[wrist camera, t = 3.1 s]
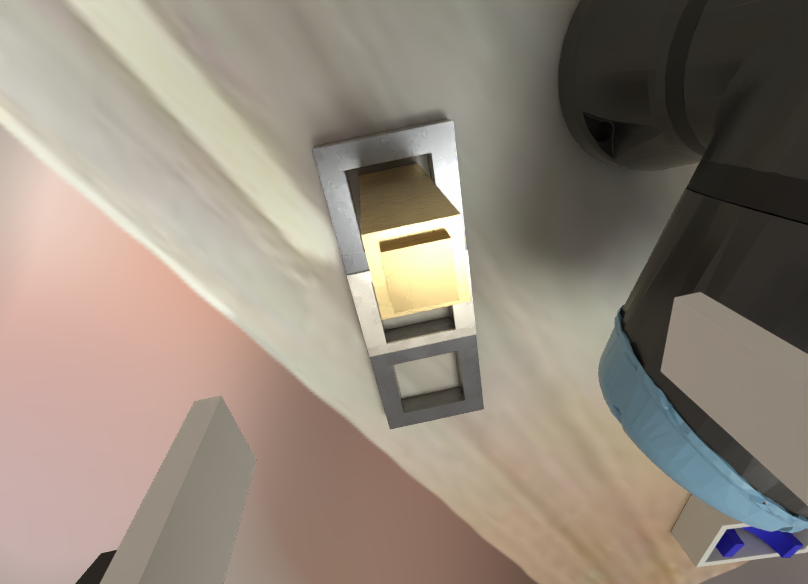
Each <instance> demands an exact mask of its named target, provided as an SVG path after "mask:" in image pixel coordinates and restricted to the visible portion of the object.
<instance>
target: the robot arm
mask: <svg viewBox="0 0 808 584" xmlns="http://www.w3.org/2000/svg"><path fill="white" fill-rule="evenodd" d="M559 95H560V102H561V107H562V111H563V115H564V118H565V121H566V123H567V126H568V128H569V130H570V132H571V133H572V135H573V137H574V138H575V139H576V141H577V142H578V143H579V144H580V146H581V147H582V148H583V149H584V150H585V151H587V152H588V153H589V154H590V155H592V156H594V157H595V158H597V159H599V160H601V161H603V162H606V163H609V164H612V165H616V166H619V167H623V168H627V169H632V170H648V171H650V170H660V169H666V168H672V167H677V166H682V165H687V164H693V163H698V162H700V163H699V165H698V167H697V169H696V171H695V173H694V175H693V176H692V178H691V180H690V182H689V184H688V186H687V188H685V190H684V192H683V194H682V196H681V198H680V200H679V202H678V204H677V205H676V207H675V209H674V211H673V213H672V215H671V217H670V219H669V221H668V223H667V225H666V227H665V229H664V230H663V232H662V234H661V236H660V238H659V240H658V242H657V244H656V246H655V248H654V250H653V252H652V253H651V255H650V257H649V259H648V261H647V263H646V265H645V267H644V269H643V271H642V273H641V275H640V276H639V278H638V280H637V282H636V284H635V286H634V288H633V290H632V292H631V294H630V296H629V298H628V299H627V301H626V303H625V304H624V305H623V306H622V307H621V308H620V309H619V311H618V313H617V316H616V317H615V327H614V329H613V331H612V333H611V336H610V338H609V340H608V342H607V345H606V347H605V349H604V351H603V353H602V356H601V359H600V362H599V371H598V376H599V383H600V387H601V390H602V393H603V396H604V399H605V401H606V403H607V405H608V406H609V408H610V411H611V412H612V414H613V415H614V416H615V417H616V418H617V419H618V421H619V422H620V423H621V424H622V427H623V430H624V431H625V433H626V434H627V435H628V436H629V438H630V439H631V440H632V441H633V442H634V444H635V445H636V446H637V447H638V448H639V449H640V450H641V451H642V452H643V453H644V454H645V455H646V456H647V457H648V458H649V459H650V460H651V461H652V462H653V463H654V464H655V465H656V466H657V467H658V468H660V469H661V470H662V471H663V472H664V473H665V474H666V475H668V476H669V477H670V478H671V479H673V480H674V481H675V482H676V483H678V484H679V485H680V486H682V487H683V488H684V489H686V490H687V491H688V492H690V493H691V494H693V495H694V496H695V497H697V498H698V499H700V500H701V501H703V502H704V503H706V504H708V505H709V506H711V507H713V508H714V509H716V510H718V511H720V512H721V513H723V514H725V515H727V516H729V517H731V518H733V519H735V520H737V521H740V522H742V523H744V524H747V525H750V526H752V527H755V528H758V529H762V530H766V531H771V532H772V531H777V530H778V531H781V532H789V533H794V532H799V531H801V530H804V529H808V0H581V1H580V3H579V5H578V7H577V9H576V11H575V14H574V16H573V18H572V20H571V23H570V26H569V28H568V31H567V34H566V38H565V41H564V45H563V49H562V54H561V60H560V68H559ZM256 461H257V459H256V457H255V456H254V454H253V452H252V450H251V448H250V447H249V445H248V443H247V441H246V439H245V438H244V436H243V434H242V432H241V430H240V428H239V427H238V425H237V423H236V421H235V419H234V417H233V416H232V414H231V412H230V410H229V409H228V407H227V405H226V403H225V401H224V399H223V398H222V396H217V397H213V398H208V399H203V400H199V401H194V403H193V405H192V407H191V409H190V411H189V413H188V415H187V417H186V419H185V421H184V423H183V425H182V426H181V428H180V430H179V432H178V434H177V436H176V438H175V440H174V442H173V444H172V446H171V447H170V450H169V451H168V453H167V455H166V457H165V459H164V461H163V463H162V465H161V467H160V469H159V470H158V472H157V475H156V476H155V478H154V481H153V482H152V484H151V486H150V488H149V490H148V492H147V494H146V496H145V497H144V499H143V501H142V503H141V505H140V507H139V509H138V511H137V513H136V515H135V517H134V519H133V521H132V523H131V524H130V526H129V529H128V530H127V532H126V534H125V536H124V538H123V540H122V542H121V544H120V546H119V548H118V549H117V550H114V551H110V552H105V553H102V554H100V555H99V557H98V558H97V559H96V560H95V561H94V563H93V564H92V565H91V566H90V567H89V568H88V569H87V571H86V572H85V573H84V574H83V575H82V576H81V578H80V579H79V580H78V581H77V582H76V584H224V581H225V577H226V573H227V569H228V566H229V562H230V558H231V555H232V550H233V547H234V543H235V540H236V536H237V532H238V528H239V525H240V521H241V517H242V513H243V509H244V506H245V502H246V498H247V495H248V491H249V487H250V483H251V480H252V476H253V472H254V468H255V465H256Z"/></svg>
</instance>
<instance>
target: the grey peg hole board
mask: <svg viewBox="0 0 808 584" xmlns="http://www.w3.org/2000/svg"><path fill="white" fill-rule="evenodd" d="M312 151H313V155H314V158H315V162H316V166H317V169H318V173H319V176H320V180H321V184H322V187H323V191H324V194H325V198H326V201H327V205H328V209H329V212H330V216H331V219H332V223H333V227H334V230H335V234H336V237H337V241H338V244H339V248H340V252H341V255H342V259H343V262H344V266H345V270H346V273H347V278H348V282H349V285H350V289H351V292H352V296H353V299H354V303H355V307H356V310H357V314H358V317H359V321H360V325H361V328H362V332H363V335H364V339H365V342H366V346H367V350H368V353H369V357H370V359H371V363H372V366H373V370H374V374H375V377H376V381H377V384H378V388H379V392H380V395H381V399H382V402H383V406H384V409H385V413H386V417H387V420H388V424H389V427H390V429H394V428H399V427H403V426H408V425H413V424H417V423H422V422H427V421H431V420H436V419H440V418H445V417H450V416H454V415H459V414H464V413H468V412H473V411H477V410H482V409H484V406H483V397H482V387H481V378H480V369H479V359H478V350H477V340H476V326H475V317H474V307H473V298H472V288H471V279H470V269H469V260H468V250H467V246H466V236H465V227H464V217H463V208H462V199H461V189H460V180H459V170H458V161H457V151H456V142H455V132H454V123H453V120H450V119H444V120H439V121H434V122H429V123H424V124H419V125H414V126H409V127H404V128H400V129H395V130H390V131H385V132H380V133H375V134H370V135H365V136H361V137H356V138H351V139H346V140H341V141H336V142H331V143H326V144H322V145H317V146H314V148H313V149H312ZM427 153H428V159H429V166H430V174H431V180H432V181H433V182H434V183H435V184H436V186H437V187H438V188H439V189H440V190H441V191H442V193H443V194H444V195H445V196H446V197H447V198H448V200H449V201H450V202H451V203H452V204H453V205H454V207H455V208H456V209H457V210H458V211H459V212H460V214H461V218H462V227H463V236H464V245H465V255H466V264H467V273H468V282H469V291H470V301H469V302H464V303H459V304H455V305H450V306H449V308H450V316H451V317H447V318H442V319H438V320H433V321H428V322H424V323H419V324H414V325H409V326H405V327H400V328H395V329H391V330H386V331H385V328H384V324H383V320H382V318H381V314H380V310H379V306H378V302H377V298H376V294H375V290H374V285H373V281H372V277H371V273H370V269H369V265H368V261H367V257H366V253H365V249H364V245H363V241H362V236H361V230H360V226H359V222H358V218H357V214H356V210H355V206H354V201H353V197H352V193H351V189H350V185H349V181H348V177H347V173H346V170H349V169H354V168H359V167H364V166H369V165H374V164H379V163H383V162H388V161H393V160H398V159H403V158H408V157H412V156H417V155H422V154H427ZM455 351H456V358H457V365H458V372H459V379H460V386H461V387H458V388H453V389H448V390H444V391H439V392H434V393H430V394H425V395H420V396H416V397H411V398H406V399H402V398H401V394H400V390H399V386H398V382H397V377H396V373H395V369H394V364H399V363H404V362H408V361H413V360H418V359H422V358H427V357H432V356H436V355H441V354H446V353H450V352H455Z"/></svg>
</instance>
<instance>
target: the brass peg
mask: <svg viewBox="0 0 808 584" xmlns="http://www.w3.org/2000/svg"><path fill="white" fill-rule="evenodd" d="M359 185H360V215H361V236H362V241H363V245H364V249H365V253H366V257H367V261H368V265H369V269H370V273H371V277H372V281H373V285H374V290H375V294H376V298H377V302H378V306H379V310H380V314H381V318H382V320H384V319H389V318H393V317H398V316H403V315H408V314H412V313H417V312H422V311H426V310H431V309H436V308H441V307H445V306H450V305H455V304H459V303H464V302H469V301H470V291H469V282H468V273H467V264H466V255H465V245H464V236H463V227H462V218H461V214H460V212H459V211H458V210H457V209H456V208H455V207H454V205H453V204H452V203H451V202H450V201H449V200H448V198H447V197H446V196H445V195H444V194H443V193H442V191H441V190H440V189H439V188H438V187H437V186H436V184H435V183H434V182H433V181H432V180H431V179H430V177H429V176H428V175H427V174H426V173H425V172H424V170H423V169H422V168H421V167H420V166H419V165H418V164H412V165H407V166H402V167H397V168H392V169H388V170H383V171H378V172H373V173H368V174H363V175H359Z"/></svg>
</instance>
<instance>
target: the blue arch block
mask: <svg viewBox="0 0 808 584" xmlns="http://www.w3.org/2000/svg"><path fill="white" fill-rule="evenodd" d="M741 528H742V529H744V530H747V531H749V532H750V533H752V534H754V535H756V536H757V537H759V538H760V539H761V540H763V541H764V542H766V543H767V544H768V545H769V546H770V547H772V548H773V549H774V550H775V551H776V552H777V553H778V554H779V555H780V556H781V557H782V558H783V557H785V558H790V557H791V556H792V555H794V554H795V553H796V552H797V551H798V550H799V549H800V548H802V547H803V546H804V545H803V544H802V543H801V542H800V541H799V540H798V539H797V538H796V537H795V536H794V535H793V534H792V533H789V532H781V531H778V530H777V531H772V532H771V531H766V530H762V529H758V528H755V527H752V526H749V527H741ZM744 545H745V544H744V542H743V541H742V540H741V539H740V537H739V536H738V534H737V533H736V531H735V529H734V528H733V529H726V531H725V533H724V534H723V536H722V537H721V539H720V540H719V542H718V543H717V545H716V546H715V547H716V548H717V549H718V551H719V552H720V553H721V555H722V556H723V557H733V556H734V555H735V554H736V553H737V552H738V551H739V550H740V549H741V548H742V547H743V546H744Z"/></svg>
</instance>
